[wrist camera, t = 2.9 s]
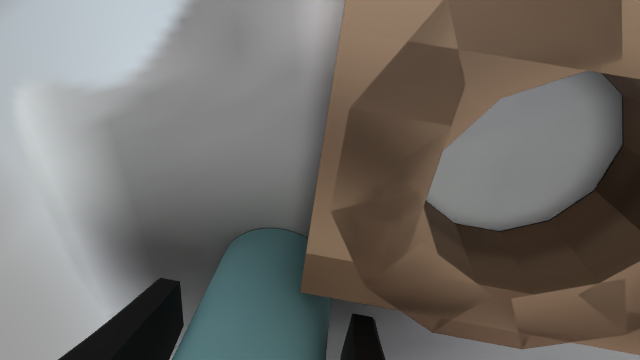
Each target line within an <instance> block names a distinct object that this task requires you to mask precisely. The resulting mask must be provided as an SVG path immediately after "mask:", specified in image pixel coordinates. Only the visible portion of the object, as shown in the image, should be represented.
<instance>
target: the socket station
mask: <svg viewBox="0 0 640 360" xmlns="http://www.w3.org/2000/svg"><path fill="white" fill-rule="evenodd" d="M584 71H593V72H599V73H603V74H604V75H605V77H606V78H607V79H608V80H609V81H610V82H611V83H612V84H613V85H614V86H615V87H616V88H617V89H618V91H619V92H620V93H621V94H622V95H623V140H624V145H623V147H622V149H621V150H620V152H619V153H618V155H617V157H616V158H615V160H614V161H613V163H612V165H611V166H610V168H609V169H608V171H607V172H606V174H605V176H604V177H603V179H602V180H601V182H600V184H599V185H598V187H597V188H596V190H595V191H594V192H592V193H591V194H589V195H588V196H586V197H585V198H583V199H582V200H580V201H579V202H577V203H576V204H574V205H573V206H571V207H570V208H568V209H567V210H565V211H564V212H562V213H561V214H559V215H558V216H556V217H555V218H553V219H552V220H551V221H547V222H542V223H538V224H534V225H529V226H525V227H520V228H516V229H511V230H507V231H502V232H497V231H492V230H486V229H480V228H475V227H469V226H464V225H458V224H454V223H453V222H452V221H451V220H449V219H448V218H447V217H446V216H444V215H443V214H442V213H440V212H439V211H438V210H437V209H435V208H434V207H433V206H432V205H430V204H429V203H428V202H427V201H426V198H427V195H428V192H429V189H430V186H431V183H432V180H433V178H434V175H435V172H436V169H437V166H438V163H439V160H440V157H441V154H442V152H443V150H444V149H445V148H446V147H447V146H449V145H450V144H451V143H452V142H453V141H454V140H455V139H456V138H457V137H459V136H460V135H461V134H462V133H463V132H464V131H465V130H466V129H467V128H469V127H470V126H471V125H472V124H473V123H474V122H475V121H476V120H477V119H478V118H480V117H481V116H482V115H483V114H484V113H485V112H486V111H487V110H488V109H490V108H491V107H492V106H493V105H494V104H495V103H496V102H497V101H498V100H499V99H501V98H503V97H506V96H509V95H512V94H515V93H518V92H522V91H525V90H528V89H531V88H534V87H537V86H540V85H543V84H546V83H549V82H553V81H556V80H559V79H562V78H565V77H568V76H571V75H574V74H577V73H581V72H584ZM300 292H301V293H307V294H312V295H317V296H323V297H328V298H334V299H339V300H345V301H350V302H355V303H361V304H366V305H372V306H377V307H382V308H388V309H393V310H399V311H401V312H403V313H404V314H406V315H407V316H409V317H410V318H412V319H413V320H415V321H416V322H418V323H419V324H421V325H422V326H423V327H425V328H426V329H428V330H429V331H431V332H433V333H438V334H444V335H449V336H454V337H460V338H465V339H470V340H476V341H481V342H487V343H492V344H497V345H503V346H508V347H513V348H519V349H526V348H533V347H541V346H548V345H555V344H563V343H570V342H572V343H577V344H583V345H588V346H593V347H599V348H604V349H610V350H615V351H620V352H626V353H631V354H637V355H640V0H345V6H344V13H343V19H342V26H341V32H340V38H339V45H338V51H337V58H336V64H335V70H334V77H333V83H332V90H331V96H330V102H329V109H328V115H327V122H326V128H325V134H324V141H323V147H322V154H321V160H320V167H319V173H318V179H317V186H316V192H315V199H314V205H313V211H312V218H311V224H310V231H309V237H308V243H307V250H306V256H305V263H304V269H303V275H302V282H301V288H300Z"/></svg>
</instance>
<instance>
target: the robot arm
mask: <svg viewBox="0 0 640 360" xmlns="http://www.w3.org/2000/svg"><path fill="white" fill-rule="evenodd" d="M183 326H184V324H183V312H182V300H181V289H180V281H175V280H169V279H164V278H160V279H158V280H157V281H156V282H154V283H153V284H152V285H151V286H150V287H149V288H147V289H146V290H145V291H144V292H143V293H142V294H140V295H139V296H138V297H137V298H136V299H134V300H133V301H132V302H131V303H130V304H129V305H127V306H126V307H125V308H124V309H123V310H121V311H120V312H119V313H118V314H117V315H115V316H114V317H113V318H112V319H110V320H109V321H108V322H107V323H105V324H104V325H103V326H102V327H100V328H99V329H98V330H97V331H95V332H94V333H93V334H92V335H90V336H89V337H88V338H86V339H85V340H84V341H82V342H81V343H80V344H78V345H77V346H76V347H74V348H73V349H72V350H70V351H69V352H68V353H66V354H65V355H64V356H62V357H61V358H60V359H58V360H169V359H170V356H171V354H172V352H173V349H174V347H175V345H176V343H177V340H178V338H179V335H180V333H181V330H182V328H183ZM341 360H385V357H384V354H383V350H382V347H381V343H380V340H379V336H378V332H377V327H376V323H375V320H374V319H373V317H369V316H363V315H358V314H352V317H351V321H350V324H349V328H348V331H347V335H346V339H345V342H344V346H343V350H342V353H341Z"/></svg>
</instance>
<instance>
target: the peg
mask: <svg viewBox="0 0 640 360" xmlns="http://www.w3.org/2000/svg"><path fill="white" fill-rule="evenodd" d="M307 243H308V239H307V238H305V237H304V236H301V235H299V234H297V233H294V232H291V231H287V230H282V229H274V228H265V229H257V230H253V231H250V232H247V233H244V234H243V235H241V236H239V237H238V238H236V239H235V240H234V241H233V242H232V243H231V244H230V245H229V247H228V248H227V250H226V252H225V254H224V256H223V258H222V260H221V262H220V264H219V266H218V268H217V270H216V272H215V274H214V276H213V278H212V280H211V282H210V284H209V286H208V288H207V290H206V292H205V294H204V296H203V298H202V300H201V302H200V304H199V306H198V308H197V310H196V312H195V314H194V316H193V318H192V320H191V322H190V324H189V326H188V328H187V330H186V332H185V335H184V337H183V339H182V341H181V343H180V345H179V347H178V349H177V351H176V353H175V355H174V357H173V359H172V360H326V349H327V338H328V327H329V316H330V305H331V298H328V297H323V296H317V295H312V294H307V293H301V292H300V288H301V282H302V275H303V269H304V263H305V256H306V250H307Z"/></svg>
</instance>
